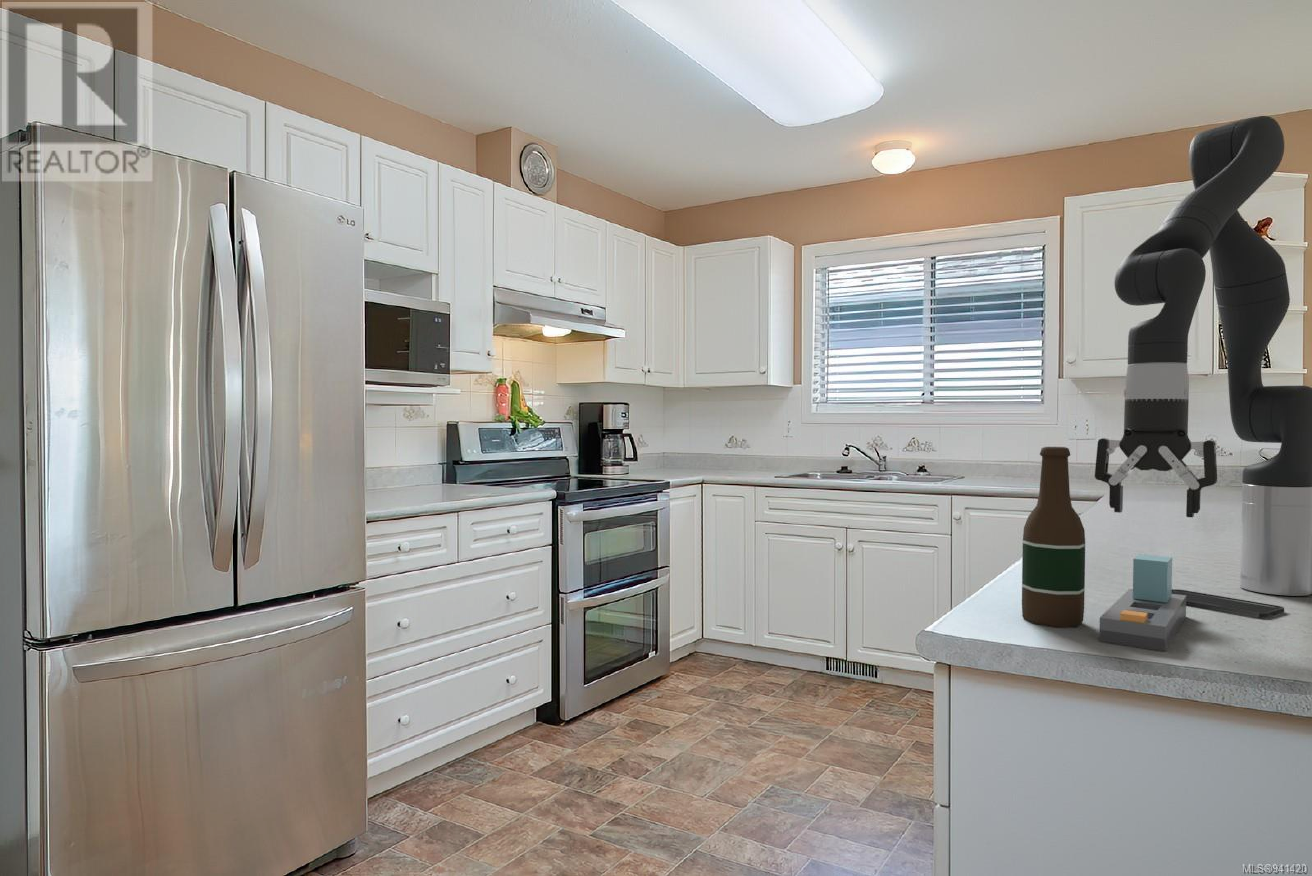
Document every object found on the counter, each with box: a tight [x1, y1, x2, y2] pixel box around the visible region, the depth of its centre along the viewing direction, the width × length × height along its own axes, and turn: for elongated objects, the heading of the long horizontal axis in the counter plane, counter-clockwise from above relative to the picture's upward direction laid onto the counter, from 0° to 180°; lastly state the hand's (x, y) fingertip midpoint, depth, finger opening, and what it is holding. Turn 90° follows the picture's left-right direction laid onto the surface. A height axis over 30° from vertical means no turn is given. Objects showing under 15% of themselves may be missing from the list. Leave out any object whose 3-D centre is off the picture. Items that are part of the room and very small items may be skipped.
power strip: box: [1098, 588, 1187, 652], centre depth 107 cm, size 22×7×4 cm, turn 141°
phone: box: [1172, 588, 1285, 620], centre depth 121 cm, size 8×1×15 cm
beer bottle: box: [1021, 446, 1086, 628], centre depth 111 cm, size 8×8×24 cm
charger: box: [1132, 553, 1173, 603], centre depth 112 cm, size 5×4×7 cm
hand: (1153, 514), depth 112 cm, fingers open, 8 cm apart
